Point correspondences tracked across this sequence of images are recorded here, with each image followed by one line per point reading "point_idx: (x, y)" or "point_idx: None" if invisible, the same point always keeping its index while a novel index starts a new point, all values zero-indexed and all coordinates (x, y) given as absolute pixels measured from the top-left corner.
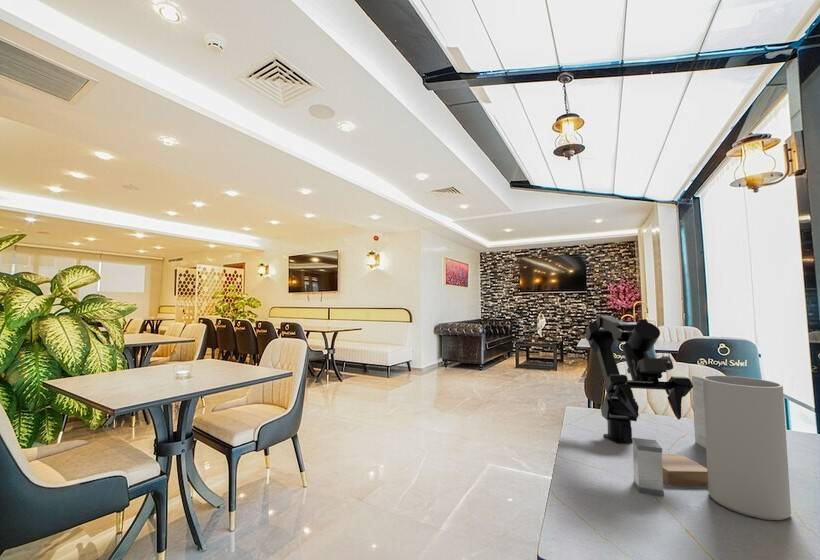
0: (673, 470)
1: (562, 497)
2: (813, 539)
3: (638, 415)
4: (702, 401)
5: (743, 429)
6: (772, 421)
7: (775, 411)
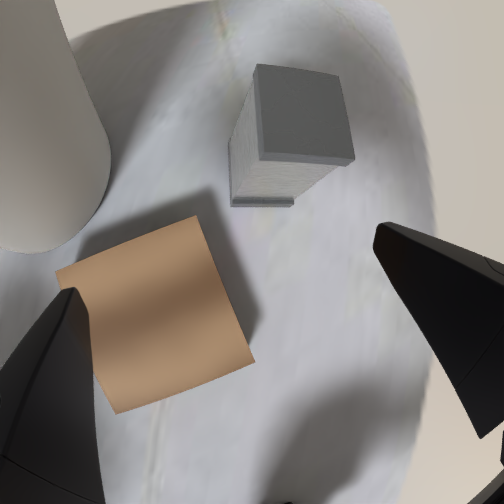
0: (177, 228)
1: (408, 98)
2: None
3: (378, 225)
4: None
5: None
6: None
7: None
